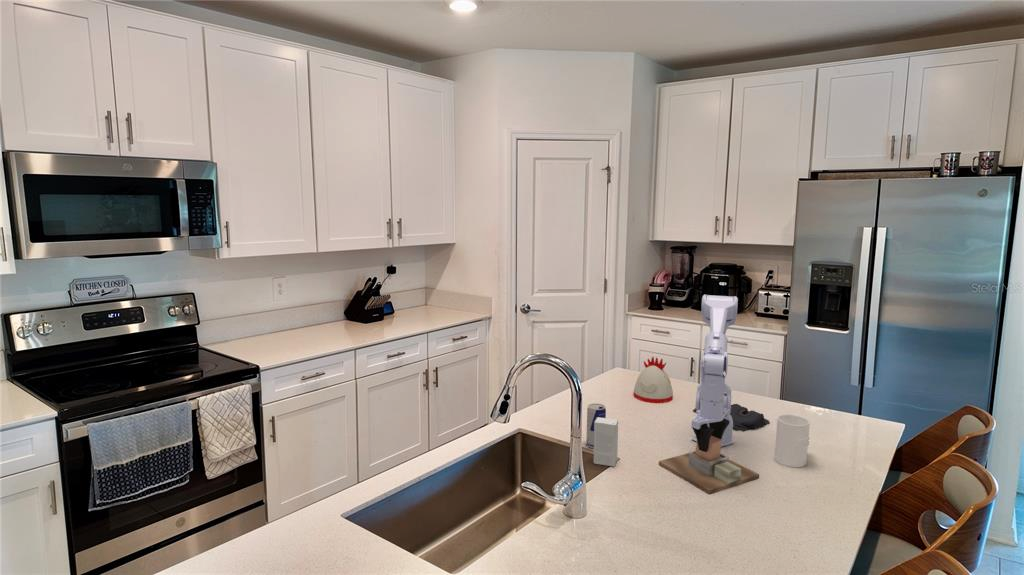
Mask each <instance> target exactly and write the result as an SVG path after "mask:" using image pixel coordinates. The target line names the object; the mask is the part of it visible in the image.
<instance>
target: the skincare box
mask: <svg viewBox="0 0 1024 575" xmlns="http://www.w3.org/2000/svg"><path fill="white" fill-rule="evenodd" d="M618 436H619V420H618V419H616V418H615V419H614V418H600V417H597V419H596V420H595V422H594V449H593V464H594V465H595V464H596V465H602V466H609V467H616V465H617V462H618V448H619V447H618V442H619V441H618V440H619V437H618Z"/></svg>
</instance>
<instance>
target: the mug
mask: <svg viewBox="0 0 1024 575" xmlns="http://www.w3.org/2000/svg"><path fill="white" fill-rule="evenodd" d="M775 432H776V434H775V444H774V445H775V447H774V460H775V461H776V462H777V463H779V464H780V465H782V466H786V467H789V468H804V467H805V466H806V465H807V457H808V448H809V447H808V446H809V445H810V441H809V440H810V421H809V420H808V419H807V418H805V417H802V416H799V415H796V414H795V415H794V414H780V415H779V416H777V421H776V431H775Z"/></svg>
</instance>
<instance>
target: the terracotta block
mask: <svg viewBox="0 0 1024 575" xmlns="http://www.w3.org/2000/svg"><path fill="white" fill-rule="evenodd" d="M721 443H722V440H721V439H719V438H716V437H714V436H711V437H710V441H709V447H708V451H707V452H704V451H701V450H699V447H698V442H696V445H695V451H696V454H695V455H696V456H698V457H700V458H702V459H704V460H707V461H709V462H711V461H714V460H716V459H718V458H720V453H721V450H722V447H721Z"/></svg>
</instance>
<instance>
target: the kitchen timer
mask: <svg viewBox="0 0 1024 575" xmlns="http://www.w3.org/2000/svg"><path fill="white" fill-rule="evenodd" d="M663 360H664V359H663V358H661V359H660V361H659V359H658V357H656V358H654V356H651V360H650V359H649V358H648V359H647V363H646V361H645V360H644V361H643V364H644V369H643V370H641V372H640V374H639V375H638V377H637V379H636V383H635V385H634V387H633V388H634V389H633V397H634V398H635V399H637V400H639V401H641V402H643V403H649V404H664V403H669V402H671V401H672V400H673V396H674V394H673V393H674V391H673V387H672V383H671V380H670V377H669V375H668V373H667V372H666V371H665V370H664V368H665V367H666V364H667V362H664V363H663Z"/></svg>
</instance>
